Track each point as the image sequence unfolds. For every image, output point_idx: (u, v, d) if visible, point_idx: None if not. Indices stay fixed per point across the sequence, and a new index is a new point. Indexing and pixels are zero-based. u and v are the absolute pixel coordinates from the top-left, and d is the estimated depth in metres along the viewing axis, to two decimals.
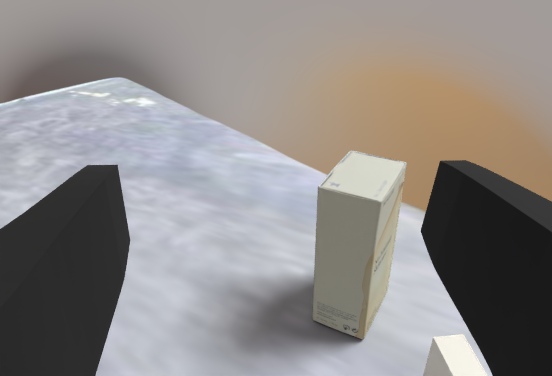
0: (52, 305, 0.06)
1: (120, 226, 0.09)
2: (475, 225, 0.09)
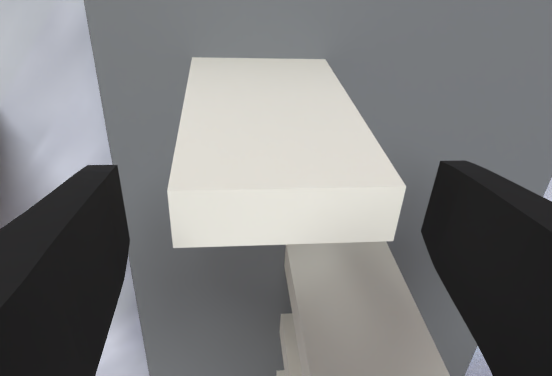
0: (52, 305, 0.06)
1: (120, 226, 0.09)
2: (475, 225, 0.09)
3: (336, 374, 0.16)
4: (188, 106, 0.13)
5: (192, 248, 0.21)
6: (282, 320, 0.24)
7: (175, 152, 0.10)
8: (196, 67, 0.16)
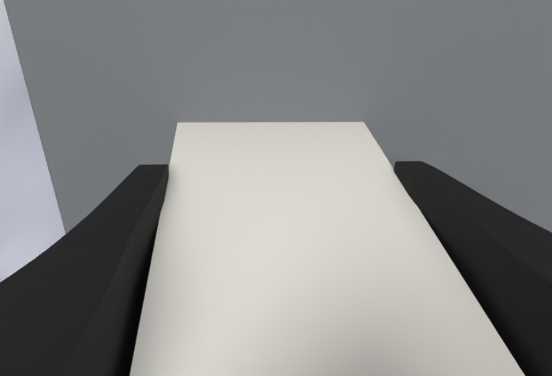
0: (129, 302, 0.06)
1: None
2: None
3: None
4: (165, 234, 0.08)
5: None
6: None
7: (132, 374, 0.06)
8: (182, 142, 0.11)
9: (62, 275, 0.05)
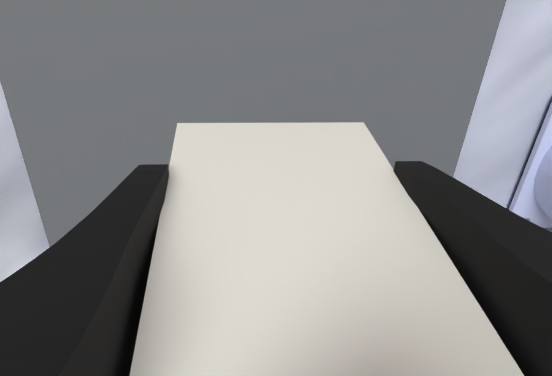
0: (129, 302, 0.06)
1: None
2: None
3: None
4: (165, 235, 0.08)
5: (96, 161, 0.20)
6: None
7: (131, 375, 0.06)
8: (182, 143, 0.11)
9: (62, 275, 0.05)
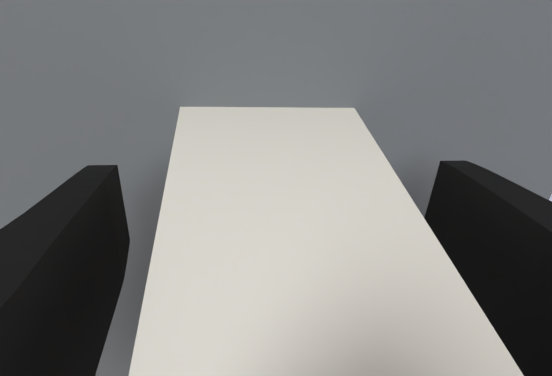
0: (52, 305, 0.06)
1: (120, 226, 0.09)
2: (475, 225, 0.09)
3: None
4: (170, 200, 0.09)
5: None
6: None
7: (142, 310, 0.06)
8: (185, 124, 0.12)
9: None
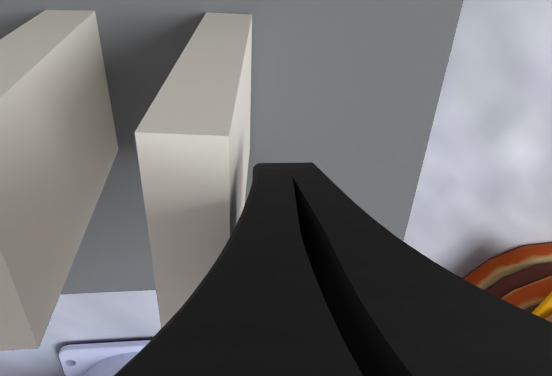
0: None
1: None
2: None
3: (17, 140, 0.09)
4: (244, 62, 0.11)
5: None
6: None
7: (236, 100, 0.09)
8: (250, 29, 0.14)
9: (264, 267, 0.06)
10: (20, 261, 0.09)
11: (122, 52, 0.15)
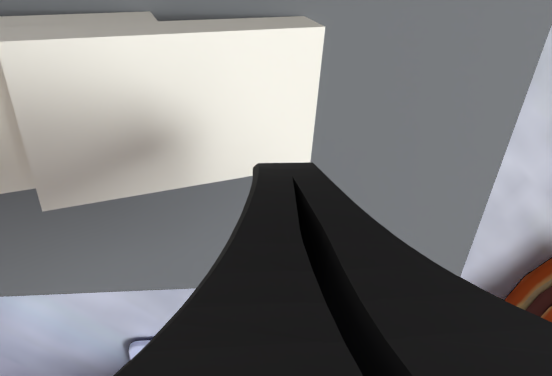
0: None
1: None
2: None
3: None
4: (176, 39, 0.12)
5: None
6: None
7: (68, 39, 0.11)
8: (290, 35, 0.14)
9: (264, 267, 0.06)
10: None
11: None
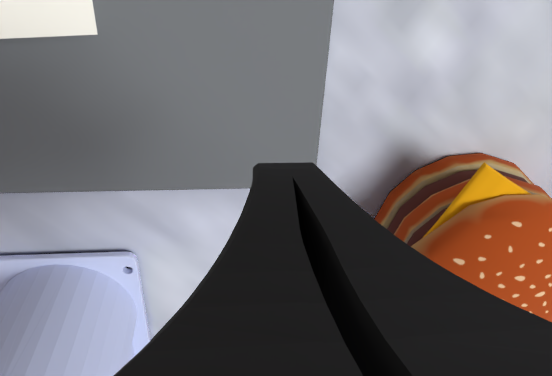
0: None
1: None
2: None
3: None
4: None
5: None
6: None
7: None
8: None
9: (264, 267, 0.06)
10: None
11: None
